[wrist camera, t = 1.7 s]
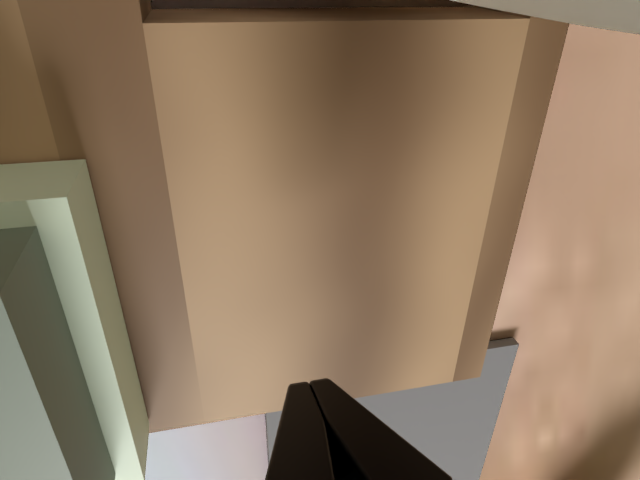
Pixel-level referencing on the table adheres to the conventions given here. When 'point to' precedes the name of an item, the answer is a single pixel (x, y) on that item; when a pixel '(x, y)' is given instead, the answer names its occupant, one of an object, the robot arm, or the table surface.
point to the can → (574, 11)
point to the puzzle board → (288, 183)
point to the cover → (63, 335)
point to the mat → (443, 414)
